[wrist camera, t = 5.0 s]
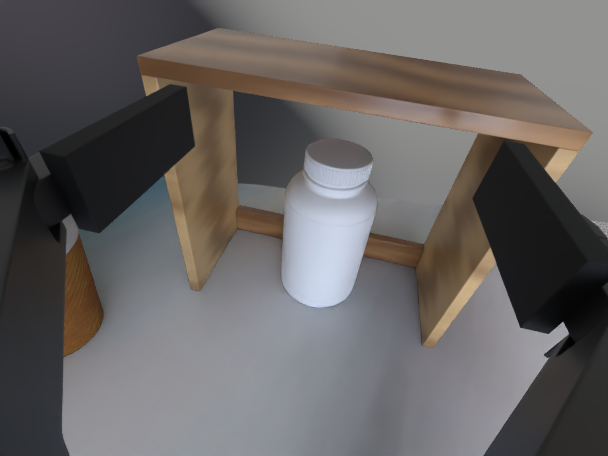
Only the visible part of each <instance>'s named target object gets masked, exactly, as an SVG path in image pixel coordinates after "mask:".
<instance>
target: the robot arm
mask: <svg viewBox="0 0 608 456" xmlns="http://www.w3.org/2000/svg"><path fill="white" fill-rule="evenodd" d="M194 147H195V140H194V133H193V127H192V120H191V113H190V106H189V100H188V93H187V87H185V86H179V85H173V84H169V85H167V86H165V87H163V88H161V89H159V90H157V91H155V92H153V93H151V94H150V95H148V96H146V97H144V98H142V99H140V100H138V101H136V102H134V103H132V104H130V105H128V106H126V107H125V108H122V109H120V110H118V111H117V112H115V113H113V114H111V115H109V116H107V117H105V118H103V119H101V120H99V121H97V122H95V123H93V124H91V125H89V126H88V127H86V128H84V129H82V130H80V131H78V132H76V133H74V134H72V135H70V136H68V137H66V138H64V139H62V140H60V141H59V142H56V143H55V144H53V145H51V146H49V147H47V148H45V149H43V150H41V151H39V153H37V154H35V155H33V156H32V157H30V158H28V157H27V155H26V153H25V151H24V150H23V148H22V146H21V144H20V142H19V140H18V138H17V137H16V135H15V133H14V131H13V130H12V129H10V128H7V127H0V456H69V452H68V450H67V447H66V445H65V442H64V439H63V434H62V396H63V356H64V316H65V276H66V236H67V230H66V227H65V225H64V223H63V221H62V220H64V219H65V218H66V217H68V216H69V215H70V214H71V215H72V217H73V219H74V221H75V223H76V225H77V227H78V229H83V230H87V231H91V232H96V233H100V232H102V231H103V230H104V229H105V228H106V227H107V226H108V225H109V224H110V223H111V222H113V221H114V220H115V219H116V218H117V217H118V216H119V215H120V214H121V213H123V212H124V211H125V210H126V209H127V208H128V207H129V206H130V205H131V204H132V203H134V202H135V201H136V200H137V199H138V198H139V197H140V196H141V195H142V194H143V193H145V192H146V191H147V190H148V189H149V188H150V187H151V186H152V185H153V184H154V183H156V182H157V181H158V180H159V179H160V178H161V177H162V176H163V175H164V174H165V173H167V172H168V171H169V170H170V169H171V168H172V167H173V166H174V165H175V164H176V163H178V162H179V161H180V160H181V159H182V158H183V157H184V156H185V155H186V154H187V153H189V152H190V151H191V150H192V149H193V148H194ZM472 199H473V202H474V205H475V207H476V210H477V213H478V215H479V218H480V221H481V223H482V226H483V229H484V231H485V234H486V237H487V239H488V242H489V245H490V247H491V250H492V253H493V256H494V258H495V261H496V264H497V266H498V269H499V272H500V274H501V277H502V280H503V282H504V285H505V288H506V290H507V293H508V296H509V298H510V301H511V304H512V306H513V309H514V312H515V314H516V317H517V320H518V322H519V325H520V328H525V329H529V330H534V331H538V332H542V333H547V334H549V333H550V332H551V331H553V330H554V329H555V328H556V327H557V326H558V325H559V324H561V323H562V322H564V324H565V326H566V328H567V330H568V332H569V335H567V336H566V337H565V338H564V339H563V340H561V341H560V342H559V343H558V344H556V345H555V346H554V347H553V348H551V349H550V350H549V351H548V352H547V353H545V354H544V356H546V357H547V358H549V359H548V360H547V362H546V363H545V365H544V366H543V368H542V369H541V371H540V372H539V374H538V375H537V377H536V378H535V380H534V381H533V383H532V384H531V386H530V387H529V389H528V390H527V392H526V393H525V395H524V396H523V398H522V399H521V401H520V402H519V404H518V405H517V407H516V408H515V409H514V411H513V412H512V414H511V415H510V417H509V418H508V420H507V421H506V423H505V424H504V426H503V427H502V429H501V430H500V432H499V433H498V435H497V436H496V438H495V439H494V441H493V442H492V444H491V445H490V447H489V448H488V450H487V451H486V453H485V454H484V456H608V240H607V239H608V238H607V237H606V236H605V234H604V233H603V232H602V231H601V230H600V228H599V227H598V226H597V225H595V224H594V223H593V222H591V221H590V220H589V219H587V218H586V217H585V216H583V215H581V214H580V213H579V212H578V211H577V209H576V208H575V207H574V205H573V204H572V203H571V202H570V200H569V199H568V198H567V197H566V196H565V194H564V193H563V192H562V190H561V189H560V188H559V187H558V185H557V184H556V183H555V182H554V180H553V179H552V178H551V177H550V175H549V174H548V173H547V172H546V170H545V169H544V168H543V166H542V165H541V164H540V163H539V161H538V160H537V159H536V158H535V156H534V155H533V154H532V153H531V151H530V150H529V149H528V148H527V146H526V145H525V144H522V143H516V142H510V141H503V143H502V145H501V147H500V149H499V150H498V152H497V154H496V156H495V158H494V159H493V161H492V163H491V165H490V167H489V169H488V170H487V172H486V174H485V176H484V178H483V180H482V181H481V183H480V185H479V187H478V189H477V190H476V192H475V194H474V196H473V198H472Z"/></svg>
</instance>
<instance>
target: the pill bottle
mask: <svg viewBox="0 0 608 456" xmlns="http://www.w3.org/2000/svg"><path fill="white" fill-rule="evenodd" d="M372 165H373V157H372V155H371V153H370V152H369V151H368V150H367V149H365V148H364V147H362V146H360V145H358V144H356V143H353V142H350V141H346V140H340V139H323V140H318V141H315V142H313V143H311V144H310V145H309V146H308V147H307V149H306V152H305V160H304V168H303V171H300V172H299V173H297V174H296V175H295V176H294V177H293V178H292V179H291V181H290V182H289V184H288V187H287V189H286V193H285V206H284V224H283V242H282V260H281V278H282V283H283V285H284V287H285V289H286V291H287V292H288V293H289V294H290V295H291V296H292V297H293V298H294V299H295V300H297V301H298V302H300V303H302V304H305V305H308V306H312V307H330V306H333V305H336V304H338V303H340V302H342V301H343V300H344V299H346V298H347V297H348V295H349V294H350V293H351V291H352V289H353V287H354V284H355V281H356V277H357V274H358V271H359V267H360V264H361V261H362V257H363V254H364V251H365V247H366V244H367V241H368V237H369V234H370V231H371V227H372V224H373V221H374V217H375V214H376V210H377V195H376V192H375V190H374V188H373V186H372V185H371V184H370V182H369V181H368V178H369V176H370V172H371V169H372Z"/></svg>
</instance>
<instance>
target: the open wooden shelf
mask: <svg viewBox="0 0 608 456" xmlns="http://www.w3.org/2000/svg"><path fill="white" fill-rule="evenodd" d="M137 60H138V64H139V68H140V72H141V74H142V79H143V84H144V89H145V92H146V96H148V95H150V94H151V93H153V92H155V91H157V90H159V89H161V88H163V87H165V86H167V85H169V84H173V85H179V86H185V87H187V93H188V100H189V106H190V113H191V120H192V127H193V133H194V140H195V147H194V148H193V149H192V150H191V151H190V152H189V153H187V154H186V155H185V156H184V157H183V158H182V159H181V160H180V161H179V162H178V163H176V164H175V165H174V166H173V167H172V168H171V169H170V170H169V171H168V172H167V173H165V174H164V175H165V179H166V184H167V188H168V192H169V197H170V201H171V205H172V210H173V214H174V218H175V223H176V227H177V231H178V235H179V240H180V244H181V248H182V253H183V257H184V261H185V266H186V270H187V274H188V279H189V283H190V287H191V289H193V290H197V291H200V290H201V288H202V286H203V285H204V283H205V281H206V280H207V278H208V276H209V275H210V273H211V271H212V270H213V268H214V266H215V265H216V263H217V261H218V259H219V258H220V256H221V254H222V253H223V251H224V249H225V248H226V246H227V244H228V243H229V241H230V239H231V237H232V236H233V234H234V232H235V231H236V229H237V228H238V229H242V230H247V231H251V232H256V233H261V234H265V235H270V236H274V237H279V238H283V224H284V214H279V213H274V212H269V211H265V210H260V209H255V208H250V207H246V206H241V205H239V201H238V182H237V163H236V144H235V125H234V107H233V91H238V92H244V93H250V94H256V95H261V96H267V97H273V98H278V99H284V100H290V101H296V102H301V103H307V104H313V105H319V106H324V107H330V108H336V109H342V110H348V111H353V112H359V113H364V114H370V115H376V116H382V117H387V118H394V119H399V120H405V121H410V122H416V123H422V124H428V125H434V126H439V127H445V128H451V129H456V130H462V131H469V132H474V133H478V135H477V137H476V139H475V141H474V143H473V145H472V147H471V149H470V151H469V153H468V155H467V157H466V159H465V161H464V163H463V165H462V168H461V170H460V172H459V174H458V176H457V178H456V180H455V182H454V184H453V186H452V188H451V190H450V192H449V194H448V196H447V198H446V200H445V202H444V204H443V206H442V208H441V210H440V212H439V214H438V216H437V219H436V221H435V223H434V225H433V227H432V229H431V231H430V233H429V235H428V237H427V239H426V241H425V243H424V244H421V243H416V242H411V241H407V240H402V239H397V238H392V237H388V236H383V235H378V234H373V233H370V234H369V237H368V241H367V244H366V247H365V251H364V254H363V256H365V257H370V258H375V259H379V260H384V261H388V262H393V263H397V264H402V265H407V266H411V267H416V275H417V287H418V298H419V310H420V321H421V333H422V344H423V346H427V347H432V348H433V347H434V346H435V344H436V343H437V342H438V340H439V339H440V338H441V336H442V335H443V334H444V332H445V331H446V330H447V328H448V327H449V326H450V324H451V323H452V322H453V320H454V319H455V318H456V316H457V315H458V314H459V312H460V311H461V309H462V308H463V307H464V305H465V304H466V303H467V301H468V300H469V299H470V297H471V296H472V295H473V293H474V292H475V291H476V289H477V288H478V287H479V285H480V284H481V283H482V281H483V280H484V279H485V277H486V276H487V275H488V273H489V272H490V270H491V269H492V268H493V266H494V265H495V264H496V261H495V258H494V256H493V253H492V250H491V247H490V245H489V242H488V239H487V237H486V234H485V231H484V229H483V226H482V223H481V221H480V218H479V215H478V213H477V210H476V207H475V205H474V202H473V199H472V198H473V196H474V194H475V192H476V190H477V189H478V187H479V185H480V183H481V181H482V180H483V178H484V176H485V174H486V172H487V170H488V169H489V167H490V165H491V163H492V161H493V159H494V158H495V156H496V154H497V152H498V150H499V149H500V147H501V145H502V143H503V141H510V142H516V143H522V144H525V145H526V146H527V148H528V149H529V150H530V151H531V153H532V154H533V155H534V156H535V158H536V159H537V160H538V161H539V163H540V164H541V165H542V166H543V168H544V169H545V170H546V172H547V173H548V174H549V175H550V177H551V178H552V179H553V180H554V182H555V183H556V182H557V180H558V179H559V178H560V176H561V175H562V174H563V172H564V171H565V170H566V168H567V167H568V166H569V164H570V163H571V162H572V160H573V159H574V158H575V156H576V155H577V153H578V151H580V150H581V148H582V147H583V146H584V144H585V143H586V142H587V140H588V139H589V138H590V136H591V135H592V134H593V132H592V131H591V130H589V129H588V128H587V127H585V126H584V125H583V124H582V123H580V122H579V121H578V120H577V119H576V118H574V117H573V116H572V115H571V114H569V113H568V112H567V111H566V110H564V109H563V108H562V107H561V106H559V105H558V104H557V103H556V102H554V101H553V100H552V99H551V98H549V97H548V96H547V95H546V94H544V93H543V92H542V91H541V90H539V89H538V88H537V87H535V86H534V85H533V84H532V83H531V82H529V81H528V80H527V79H525V78H524V77H523V76H522V75H520V74H513V73H507V72H500V71H494V70H487V69H481V68H474V67H468V66H461V65H455V64H448V63H442V62H435V61H429V60H422V59H416V58H409V57H402V56H396V55H390V54H384V53H377V52H371V51H364V50H358V49H351V48H345V47H338V46H332V45H325V44H319V43H312V42H306V41H299V40H293V39H286V38H280V37H273V36H267V35H260V34H254V33H247V32H241V31H234V30H228V29H222V28H217V29H215V30H212V31H209V32H206V33H203V34H200V35H197V36H194V37H191V38H188V39H185V40H182V41H179V42H176V43H173V44H170V45H167V46H164V47H161V48H158V49H156V50H153V51H150V52H147V53H144V54H141V55H138V56H137Z"/></svg>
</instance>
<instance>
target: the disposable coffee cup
mask: <svg viewBox="0 0 608 456" xmlns="http://www.w3.org/2000/svg"><path fill="white" fill-rule="evenodd" d="M62 221H63V223H64V225H65V227H66V230H67V236H66V276H65V316H64V356H63V357H65V356H67V355H69V354H71V353H73V352H75V351H76V350H78V349H80V348H81V347H82V346H84V345H85V344H86V343H87V342H88V341H89V340H90V339H91V338H92V337H93V336H94V335H95V334H96V332H97V331H98V330H99V328H100V325H101V323H102V320H103V309H102V306H101V303H100V300H99V297H98V293H97V290H96V287H95V284H94V280H93V277H92V274H91V271H90V267H89V264H88V261H87V258H86V254H85V251H84V248H83V245H82V241H81V238H80V234H79V229H78V227H77V225H76V223H75V221H74V219H73V217H72V215H71V214H70V215H69V216H68V217H66V218H65V219H64V220H62Z"/></svg>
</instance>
